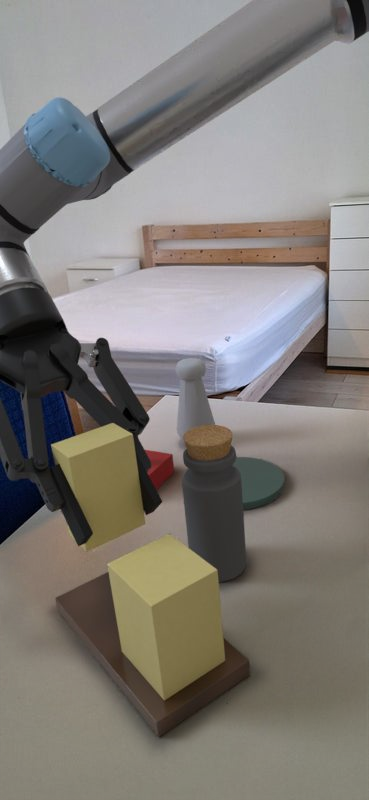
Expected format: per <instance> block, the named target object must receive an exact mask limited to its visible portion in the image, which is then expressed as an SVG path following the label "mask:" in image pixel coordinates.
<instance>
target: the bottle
mask: <svg viewBox="0 0 369 800" xmlns="http://www.w3.org/2000/svg"><path fill="white" fill-rule="evenodd" d="M183 440H184V443H185V444H184V446H185V449H184V451H183V452H182V460H183V461H182V462H183V464H184V466H185V467H186V468H187V469H185V471H184V472H183V474H182V475H181V486H182V497H183V508H184V516H185V517H184V518H185V526H186V536H187V547H188V548H189V549H191V550H192V551H193V552H195V553H196V554H197V555H199V556H200V557H201V558H202V559H204V560H205V561H206V562H208V563H209V564H210V565H212V566H213V567H214V568H216V569H217V570H218V582H219V583H222V582H227V581H231V580H233V579H235V578H237V577H240V575H241V574H242V573H243V572H244V571H245V569H246V567H247V552H246V551H247V547H246V531H245V515H244V514H245V513H244V510H243V498H242V483H241V474H240V472H239V470H238V469H237V468H236V467H235V466H233V464H234V462H235V461H236V457H237V451H236V449H235V446H233V445H232V441H233V432H232V430H231V429H229V428H228V427H226V426H224V425H218V424H215V425H203V426H198V427H195V428H192V429H190V430H188V431H187V432H186V433H185V434H184V436H183Z"/></svg>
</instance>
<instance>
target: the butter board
mask: <svg viewBox="0 0 369 800" xmlns="http://www.w3.org/2000/svg"><path fill="white" fill-rule="evenodd" d="M54 600H55V605H56V609H57V611H58V613H59V615H61V616H62V618H63V619H64V620H65V622H66V623H67V625H69V626H70V628H71V629H72V630H73V631H74V633H75V634H76V635H77V636H78V638H79V639H80V640H81V642H82V643H83V644H84V645H85V646H86V648H87V649H88V650H89V652H90V653H91V654H92V656H93V657H94V658H95V659H96V660H97V662H98V663H99V664H100V665H101V667H102V668H103V669H104V671H105V672H106V673H107V674H108V675H109V677H110V678H111V680H112V681H113V682H114V683H115V684H116V686H117V687H118V688H119V689H120V691H121V692H122V693H123V694H124V696H125V697H126V698H127V699H128V701H129V702H130V703H131V704H132V706H133V707H134V709H136V711H137V712H138V713H139V715H140V716H141V717H142V718H143V719H144V721H145V722H146V723H147V724H148V726H149V727H150V729H151V730H152V731H153V732H154V734H155V735H156V736H157V738H160V737H161V736H163V735H165V734H166V733H167V732H169V731H170V730H171V729H173V728H175V727H176V726H177V725H178V724H180V723H182V722H183V721H185V720H186V719H187V718H189V717H190V716H192V715H193V714H195V713H196V712H197V711H199V710H201V709H202V708H203V707H205V706H206V705H208V704H209V703H210V702H212V701H213V700H215V699H216V698H218V697H219V696H221V695H222V694H224V693H226V691H228V690H230V689H231V688H233V687H234V686H235V685H237V684H238V683H240V682H241V681H243V680H244V679H245V678H247V677H248V676H250V675H251V668H250V659H249V658H247V657H246V655H244V654H243V653H242V652H241V651H240V650H238V649H237V648H236V647H235V646H234V645H232V644H231V643H230V642H229V641H228V640H227V639H226V638H225V637H223V640H224V652H225V661H224V662H223V663H221V664H220V665H218V666H217V667H215V668H213V669H212V670H210V671H209V672H207V673H206V674H204V675H203V676H201V677H200V678H198V679H197V680H195V681H194V682H192V683H191V684H189V685H188V686H186V687H185V688H183V689H181V690H180V691H178V692H177V693H175V694H174V695H172V696H171V697H169V698H168V699H166V700H163V698H162V697H161V696H160V695H159V694H158V693H157V692H156V690H155V689H154V688H153V687H152V686H151V685H150V683H149V682H148V681H147V680H146V679H145V678H144V676H143V675H142V674H141V673H140V672H139V671H138V670H137V668H136V667H135V666H134V665H133V664H132V663H131V661H130V660H129V659H128V658H127V657H126V656H125V655H124V653H123V652H122V649H121V643H120V637H119V631H118V625H117V619H116V613H115V607H114V601H113V595H112V589H111V583H110V577H109V571H107V572H105V573H102V574H100V575H99V576H97V577H95V578H92V579H90V580H88V581H86V582H84V583H82V584H80V585H78V586H76V587H74V588H72V589H70V590H68V591H66V592H64V593H62V594H60V595H58V596H56V597H54Z"/></svg>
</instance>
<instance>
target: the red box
mask: <svg viewBox="0 0 369 800" xmlns="http://www.w3.org/2000/svg"><path fill="white" fill-rule="evenodd" d="M144 450H145V452H146V453H147V455H148V457H149V459H150V461H151V469H150V470H149V471H148V472H147V473H148V475H149V477H150V479H151V481H152V483H153V484H154V486H155V488H156V490H157V491H158V488H160V487H161V486H162V485H163V484H164V483H165V482H166V481H167V480H168V479H169V478H171V476H172V475H173V474H174V473H175V465H174V455H173V453H169V452H168V453H167V452H161V451H155V450H149V449H144Z"/></svg>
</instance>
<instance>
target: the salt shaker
mask: <svg viewBox="0 0 369 800" xmlns="http://www.w3.org/2000/svg"><path fill="white" fill-rule="evenodd" d="M206 371H207V368H206V363H205V361H204V360H202V359H201V358H198V357H188V358H184V359H180V360H179V361H178V362H177V363H176V365H175V375H176V377H177V378H178V379H180V381H179V393H178V408H177V420H176V433H177V434H178V436H179V438H180V440H181V442H182V444H183V445H185V443H184V440H183V436H184V434H185V433H186V432H187V431H188V430H190V429H192V428H195V427H198V426H203V425H216V421H215V419H214V414H213V412H212V408H211V404H210V402H209V398H208V394H207V391H206V388H205V385H204V382H203V379H202V378H203V377H205V375H206Z"/></svg>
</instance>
